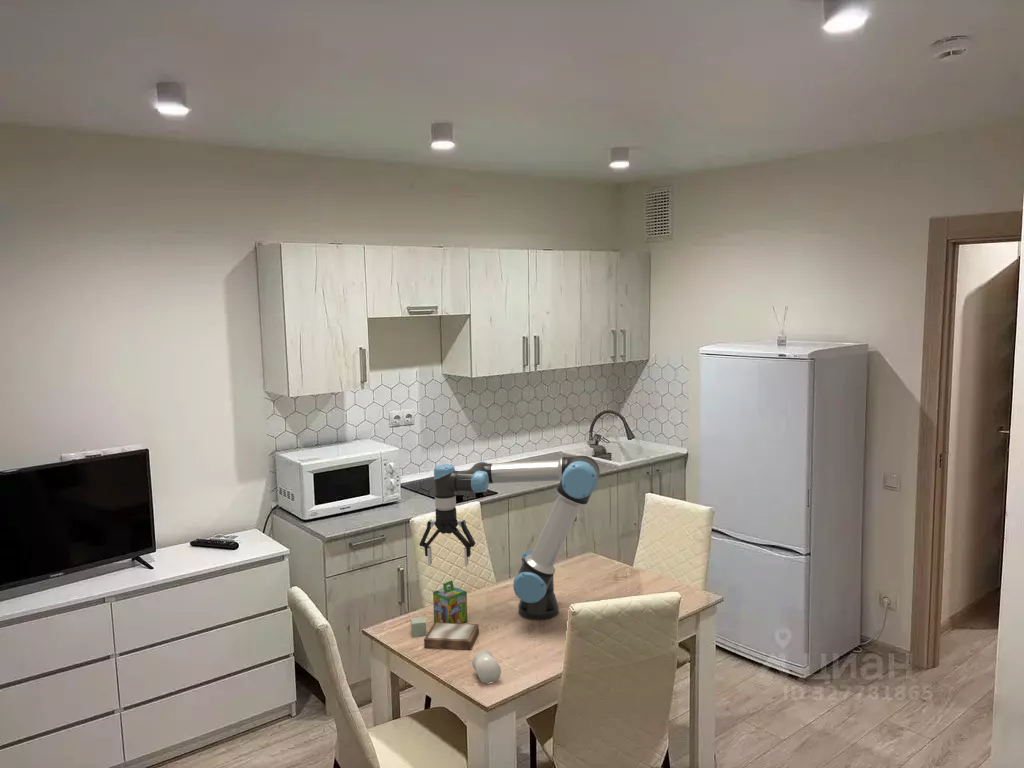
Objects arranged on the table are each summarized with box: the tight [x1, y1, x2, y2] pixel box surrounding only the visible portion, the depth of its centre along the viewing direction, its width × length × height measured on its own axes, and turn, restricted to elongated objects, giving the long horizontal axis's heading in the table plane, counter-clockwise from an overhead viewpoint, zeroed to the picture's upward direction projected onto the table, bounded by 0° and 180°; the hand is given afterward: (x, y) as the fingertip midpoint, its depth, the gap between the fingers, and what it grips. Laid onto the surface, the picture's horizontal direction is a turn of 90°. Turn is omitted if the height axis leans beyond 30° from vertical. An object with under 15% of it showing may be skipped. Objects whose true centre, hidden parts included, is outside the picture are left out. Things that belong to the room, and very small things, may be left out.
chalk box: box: [432, 580, 468, 624], centre depth 275 cm, size 9×9×15 cm
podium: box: [423, 621, 480, 651], centre depth 260 cm, size 16×14×3 cm
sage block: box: [410, 616, 427, 638], centre depth 266 cm, size 5×5×5 cm
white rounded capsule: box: [471, 649, 502, 684], centre depth 233 cm, size 7×7×8 cm
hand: (448, 565), depth 273 cm, fingers open, 13 cm apart
